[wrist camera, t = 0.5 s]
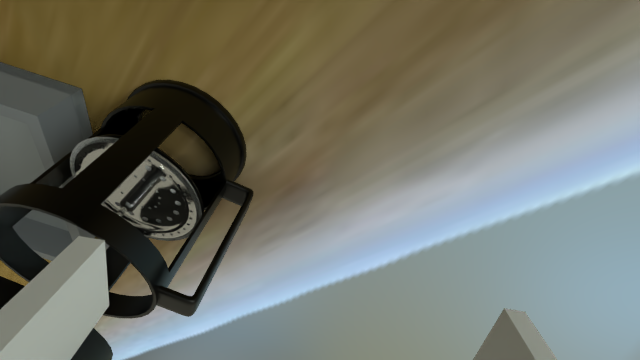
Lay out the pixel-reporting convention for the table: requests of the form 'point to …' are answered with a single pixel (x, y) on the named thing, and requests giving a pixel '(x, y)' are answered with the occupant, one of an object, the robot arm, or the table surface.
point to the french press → (134, 199)
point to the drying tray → (39, 147)
